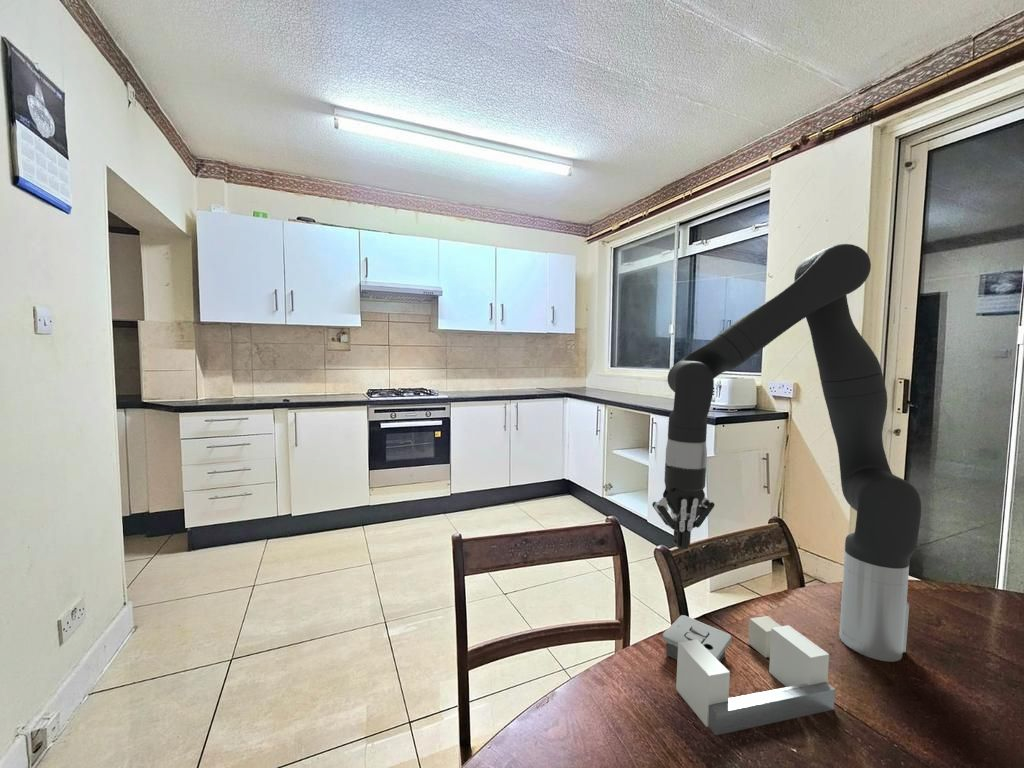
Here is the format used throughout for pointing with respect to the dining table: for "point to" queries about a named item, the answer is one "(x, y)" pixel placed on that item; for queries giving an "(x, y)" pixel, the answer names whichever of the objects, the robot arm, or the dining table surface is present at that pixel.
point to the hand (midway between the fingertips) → (681, 547)
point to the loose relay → (761, 634)
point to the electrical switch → (695, 637)
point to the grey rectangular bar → (770, 707)
